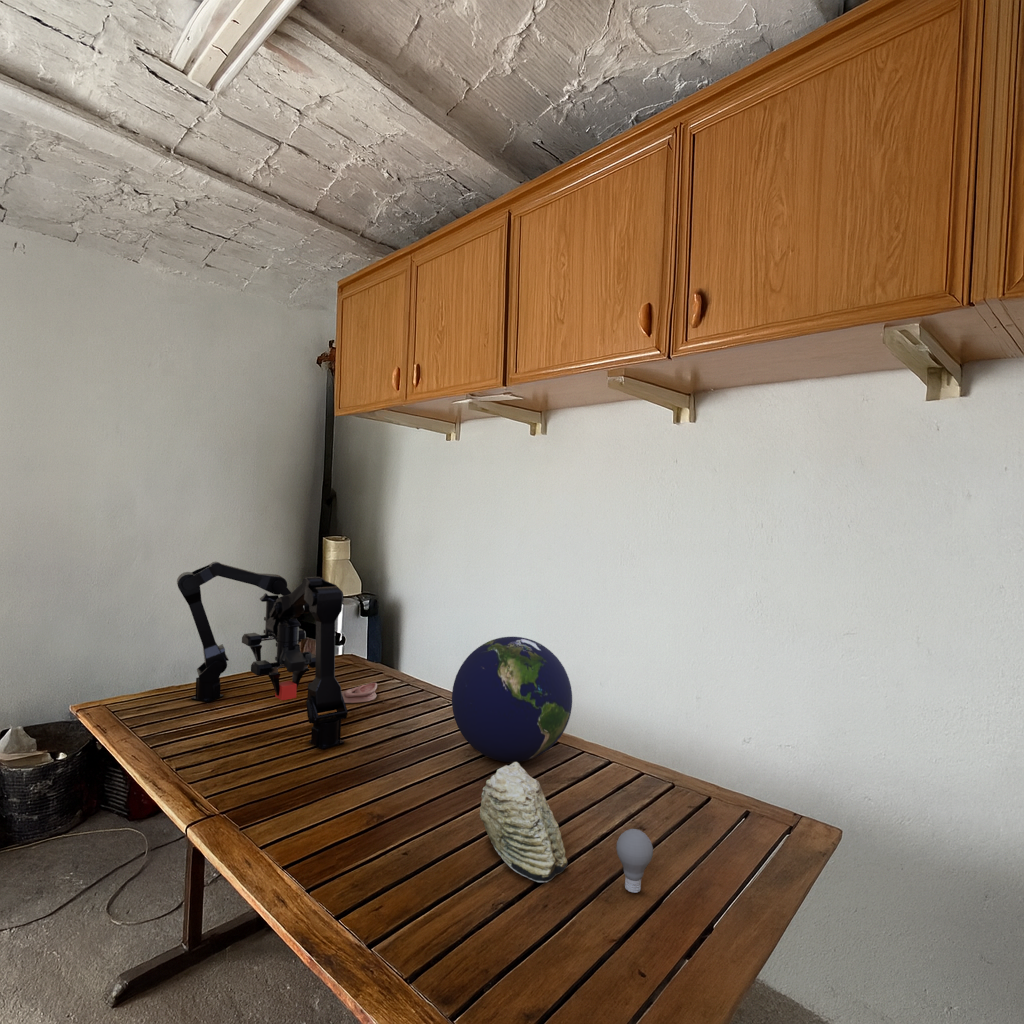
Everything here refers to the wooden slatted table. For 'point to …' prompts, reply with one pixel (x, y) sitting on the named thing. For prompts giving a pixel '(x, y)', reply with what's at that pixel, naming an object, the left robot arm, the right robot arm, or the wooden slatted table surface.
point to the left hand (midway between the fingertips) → (273, 663)
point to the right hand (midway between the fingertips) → (285, 693)
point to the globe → (512, 699)
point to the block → (287, 690)
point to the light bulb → (634, 857)
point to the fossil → (522, 824)
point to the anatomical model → (360, 693)
